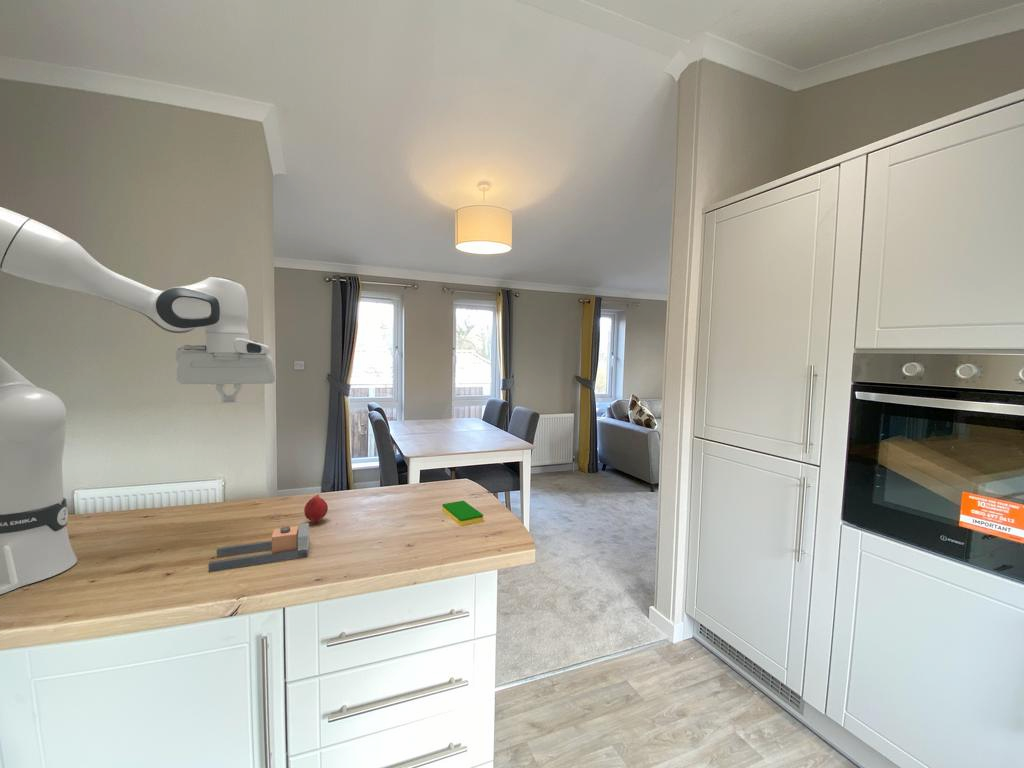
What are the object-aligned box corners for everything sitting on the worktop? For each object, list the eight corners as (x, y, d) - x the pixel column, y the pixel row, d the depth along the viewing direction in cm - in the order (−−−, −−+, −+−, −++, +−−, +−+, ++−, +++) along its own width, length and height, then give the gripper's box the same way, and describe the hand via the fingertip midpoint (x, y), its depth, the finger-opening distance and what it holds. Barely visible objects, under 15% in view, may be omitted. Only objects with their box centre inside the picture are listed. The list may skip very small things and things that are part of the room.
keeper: (272, 559, 95) (271, 533, 95) (274, 549, 99) (274, 525, 99) (296, 555, 97) (296, 530, 97) (298, 546, 101) (298, 522, 101)
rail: (208, 572, 89) (208, 549, 89) (217, 555, 96) (217, 534, 96) (307, 556, 96) (307, 535, 96) (309, 542, 104) (308, 522, 103)
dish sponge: (463, 507, 131) (463, 500, 131) (483, 523, 119) (483, 514, 119) (441, 511, 127) (441, 503, 127) (460, 527, 116) (460, 519, 115)
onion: (318, 527, 113) (318, 498, 112) (299, 525, 114) (299, 496, 113) (331, 519, 118) (331, 491, 118) (313, 517, 120) (313, 490, 119)
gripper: (170, 344, 96) (172, 404, 97) (273, 346, 104) (274, 402, 105) (179, 345, 102) (181, 402, 103) (276, 347, 110) (277, 400, 111)
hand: (229, 402), depth 104 cm, fingers closed
